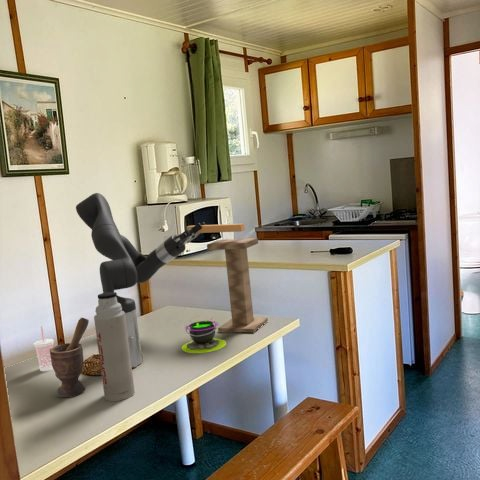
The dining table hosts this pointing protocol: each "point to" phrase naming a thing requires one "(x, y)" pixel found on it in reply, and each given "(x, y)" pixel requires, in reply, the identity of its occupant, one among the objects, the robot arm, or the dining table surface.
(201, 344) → the toy cauldron
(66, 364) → the mortar and pestle
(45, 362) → the beverage cup
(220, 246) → the shelf stand
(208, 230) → the handle bar
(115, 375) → the thermos bottle
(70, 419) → the dining table surface
